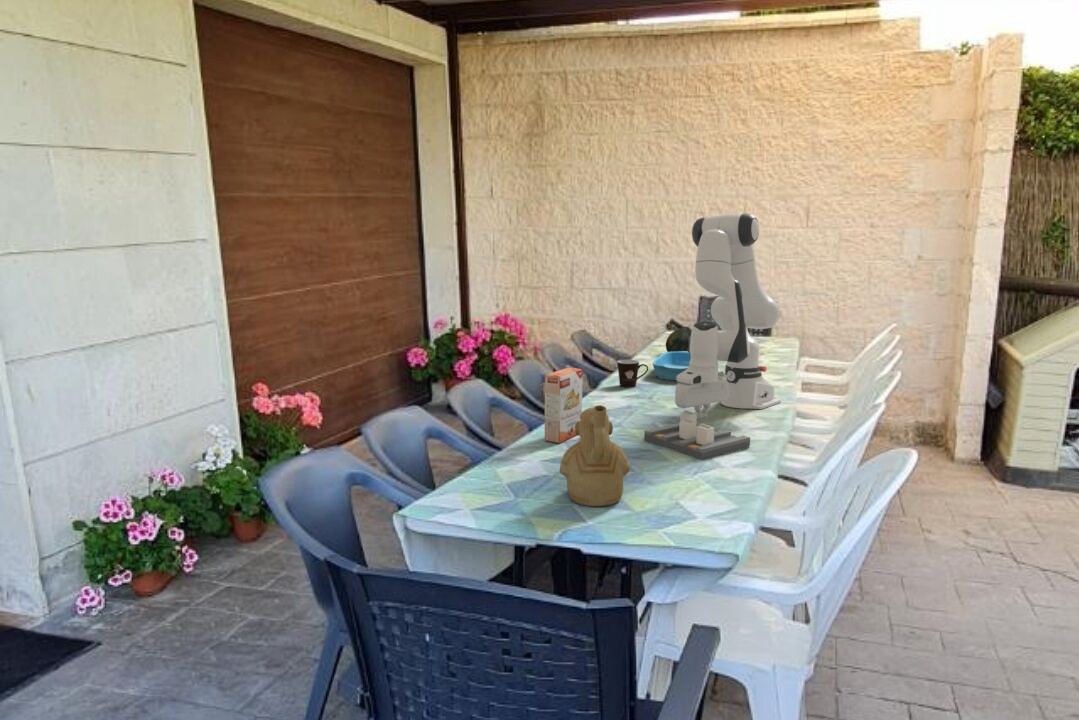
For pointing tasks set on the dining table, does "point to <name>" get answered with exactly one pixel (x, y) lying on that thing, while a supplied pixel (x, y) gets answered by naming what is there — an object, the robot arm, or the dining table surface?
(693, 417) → the tab
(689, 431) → the white rectangular block
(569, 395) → the cracker box
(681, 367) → the casserole dish
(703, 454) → the switch board
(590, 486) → the ceramic vessel
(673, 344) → the squash
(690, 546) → the dining table surface
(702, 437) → the tab
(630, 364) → the coffee mug
